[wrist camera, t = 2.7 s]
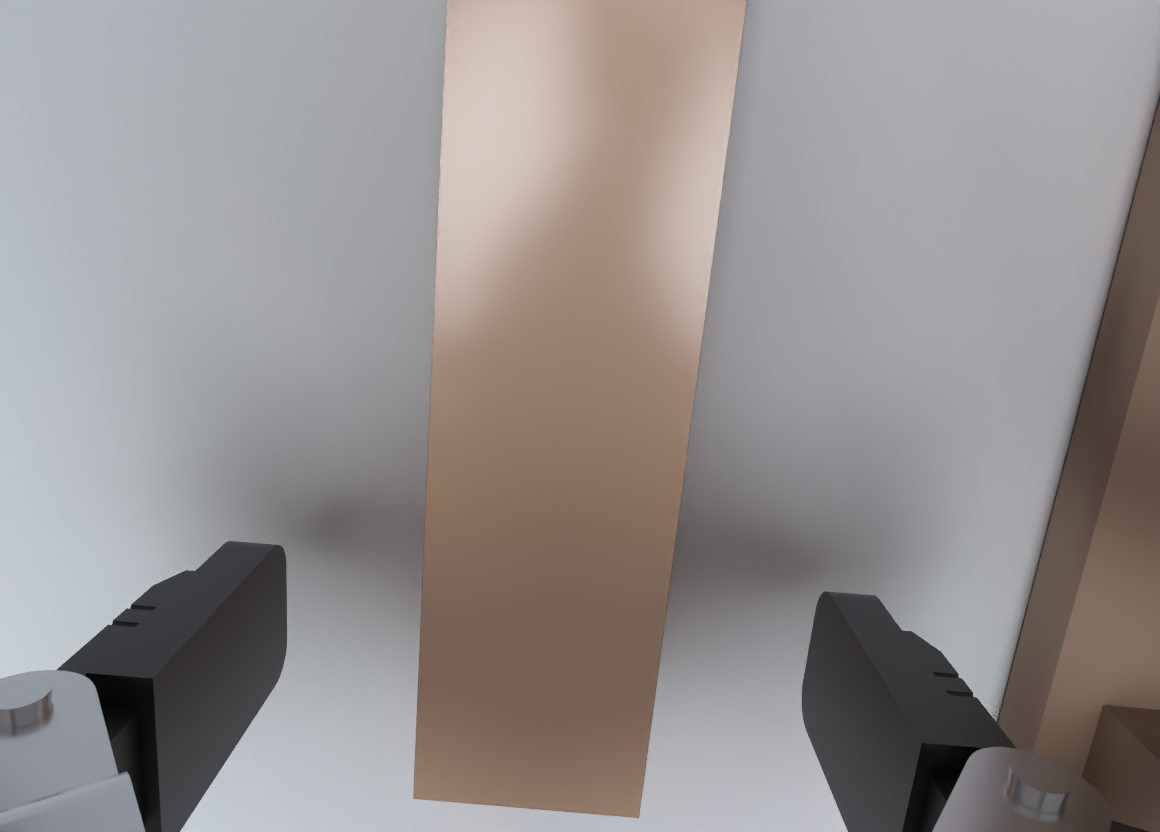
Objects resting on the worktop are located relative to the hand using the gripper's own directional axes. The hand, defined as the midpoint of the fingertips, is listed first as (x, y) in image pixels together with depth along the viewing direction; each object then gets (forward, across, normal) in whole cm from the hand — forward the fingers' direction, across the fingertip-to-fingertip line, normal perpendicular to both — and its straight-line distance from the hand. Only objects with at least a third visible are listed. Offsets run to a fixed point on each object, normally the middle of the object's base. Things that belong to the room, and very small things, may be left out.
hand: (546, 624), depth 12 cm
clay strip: (+3, 0, -5) cm, 6 cm away
